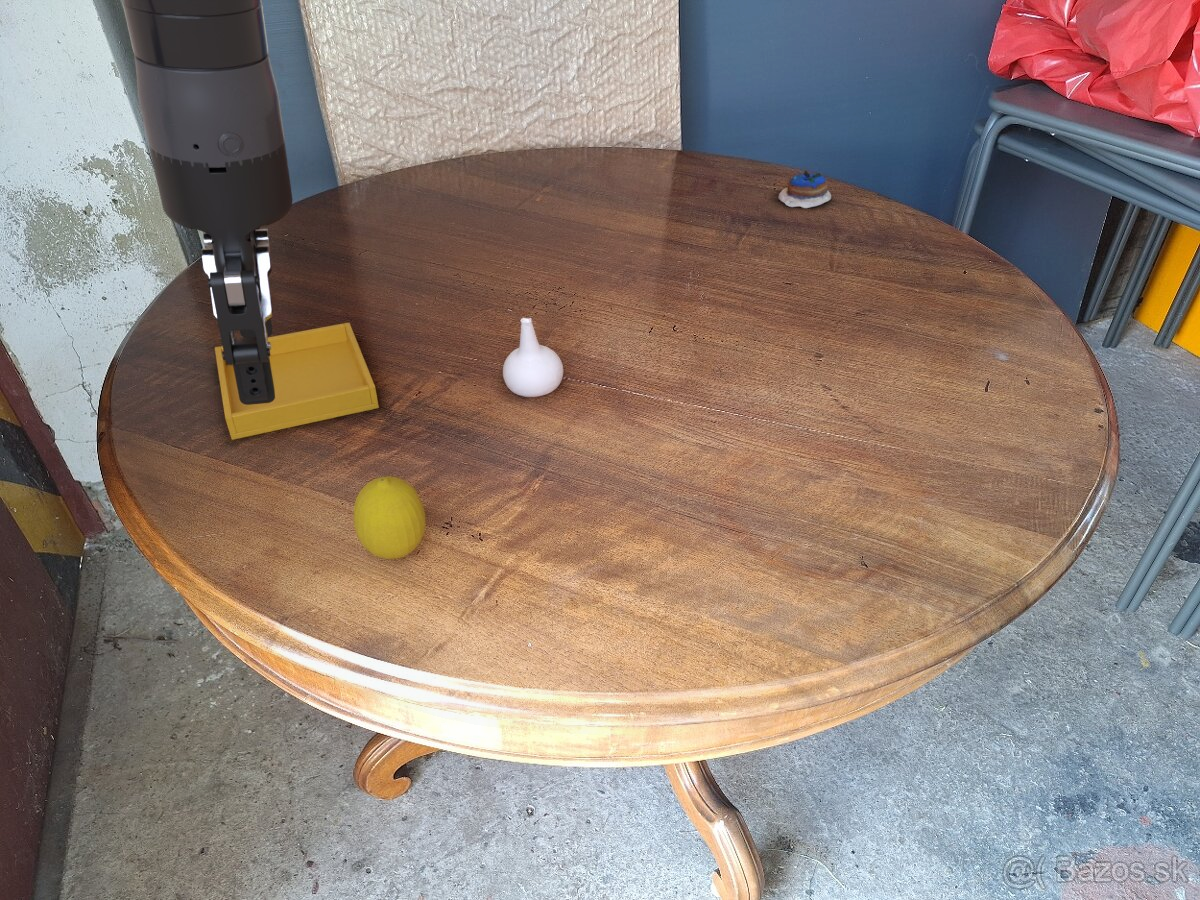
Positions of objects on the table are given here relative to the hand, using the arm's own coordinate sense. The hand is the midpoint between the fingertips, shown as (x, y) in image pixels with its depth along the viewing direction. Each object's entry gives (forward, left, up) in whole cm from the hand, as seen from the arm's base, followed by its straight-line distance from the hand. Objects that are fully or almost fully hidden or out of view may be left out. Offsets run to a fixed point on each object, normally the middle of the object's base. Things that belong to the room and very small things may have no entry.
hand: (257, 366), depth 63 cm
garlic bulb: (+26, +17, -18) cm, 36 cm away
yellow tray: (+3, +26, -18) cm, 32 cm away
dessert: (+81, +50, -18) cm, 97 cm away
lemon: (+7, -3, -18) cm, 20 cm away
